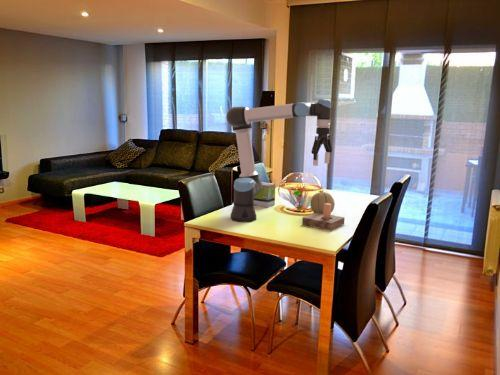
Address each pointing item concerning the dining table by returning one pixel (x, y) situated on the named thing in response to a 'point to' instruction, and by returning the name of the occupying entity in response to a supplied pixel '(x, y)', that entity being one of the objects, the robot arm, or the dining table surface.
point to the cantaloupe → (321, 202)
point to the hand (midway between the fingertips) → (321, 164)
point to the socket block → (323, 221)
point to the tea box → (265, 195)
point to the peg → (327, 211)
